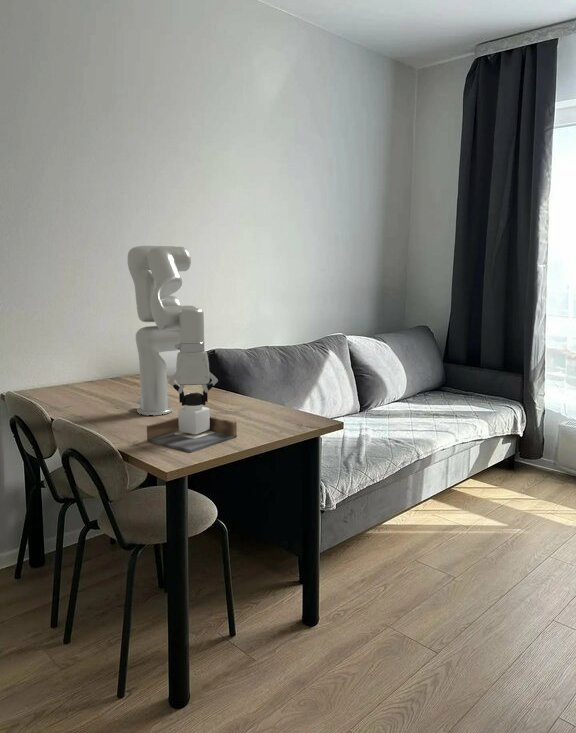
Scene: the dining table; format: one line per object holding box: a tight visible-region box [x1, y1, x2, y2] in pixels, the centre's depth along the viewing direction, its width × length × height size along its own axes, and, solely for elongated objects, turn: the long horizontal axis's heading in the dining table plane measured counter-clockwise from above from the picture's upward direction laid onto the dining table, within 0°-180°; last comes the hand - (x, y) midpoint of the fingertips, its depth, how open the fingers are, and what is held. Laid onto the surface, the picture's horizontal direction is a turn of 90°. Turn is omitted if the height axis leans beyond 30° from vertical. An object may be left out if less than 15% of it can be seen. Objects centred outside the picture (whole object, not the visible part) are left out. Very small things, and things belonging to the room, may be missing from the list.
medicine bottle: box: [177, 392, 210, 434], centre depth 198 cm, size 7×7×12 cm
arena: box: [146, 416, 238, 453], centre depth 195 cm, size 19×20×5 cm
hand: (193, 404), depth 198 cm, fingers closed on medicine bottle, 6 cm apart
